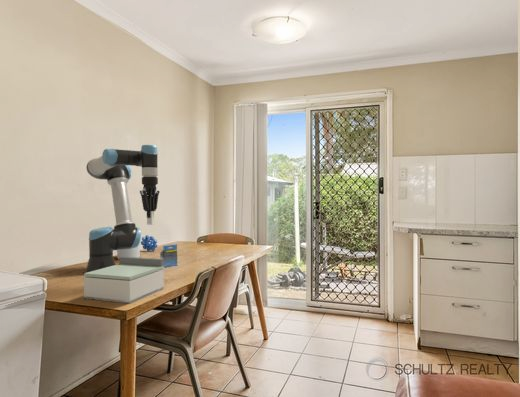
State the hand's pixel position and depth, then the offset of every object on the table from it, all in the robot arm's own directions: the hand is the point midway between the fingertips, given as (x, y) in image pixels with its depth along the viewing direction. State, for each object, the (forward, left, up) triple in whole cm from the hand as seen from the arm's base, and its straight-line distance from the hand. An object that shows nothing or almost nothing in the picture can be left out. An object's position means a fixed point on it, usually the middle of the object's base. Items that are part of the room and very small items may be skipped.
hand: (150, 224), depth 176 cm
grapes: (-52, +70, -27) cm, 91 cm away
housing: (+7, -27, -26) cm, 38 cm away
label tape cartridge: (-8, +28, -27) cm, 40 cm away
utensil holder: (-49, +44, -27) cm, 71 cm away
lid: (+7, -27, -18) cm, 33 cm away
